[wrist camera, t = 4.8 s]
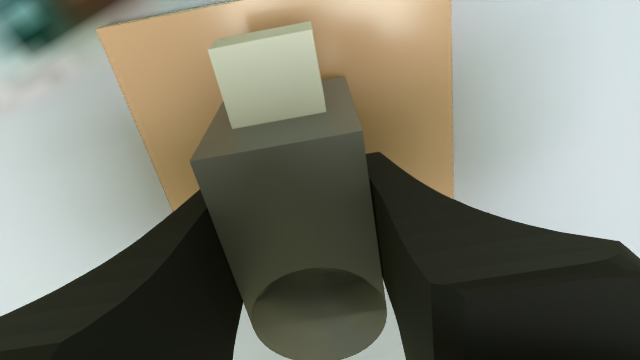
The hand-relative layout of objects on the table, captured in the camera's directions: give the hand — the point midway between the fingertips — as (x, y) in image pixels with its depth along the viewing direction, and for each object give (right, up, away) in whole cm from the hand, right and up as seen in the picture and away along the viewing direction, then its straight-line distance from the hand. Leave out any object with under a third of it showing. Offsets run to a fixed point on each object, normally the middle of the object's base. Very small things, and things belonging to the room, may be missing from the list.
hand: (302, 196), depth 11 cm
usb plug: (0, +1, +1) cm, 2 cm away
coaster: (0, +2, +3) cm, 3 cm away
